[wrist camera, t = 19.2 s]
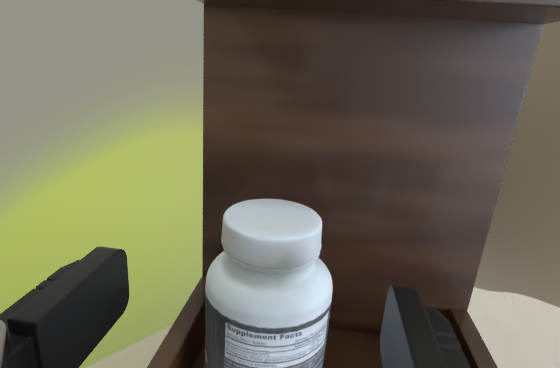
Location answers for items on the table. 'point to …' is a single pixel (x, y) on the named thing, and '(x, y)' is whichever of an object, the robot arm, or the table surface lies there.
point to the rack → (365, 147)
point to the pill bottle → (268, 289)
